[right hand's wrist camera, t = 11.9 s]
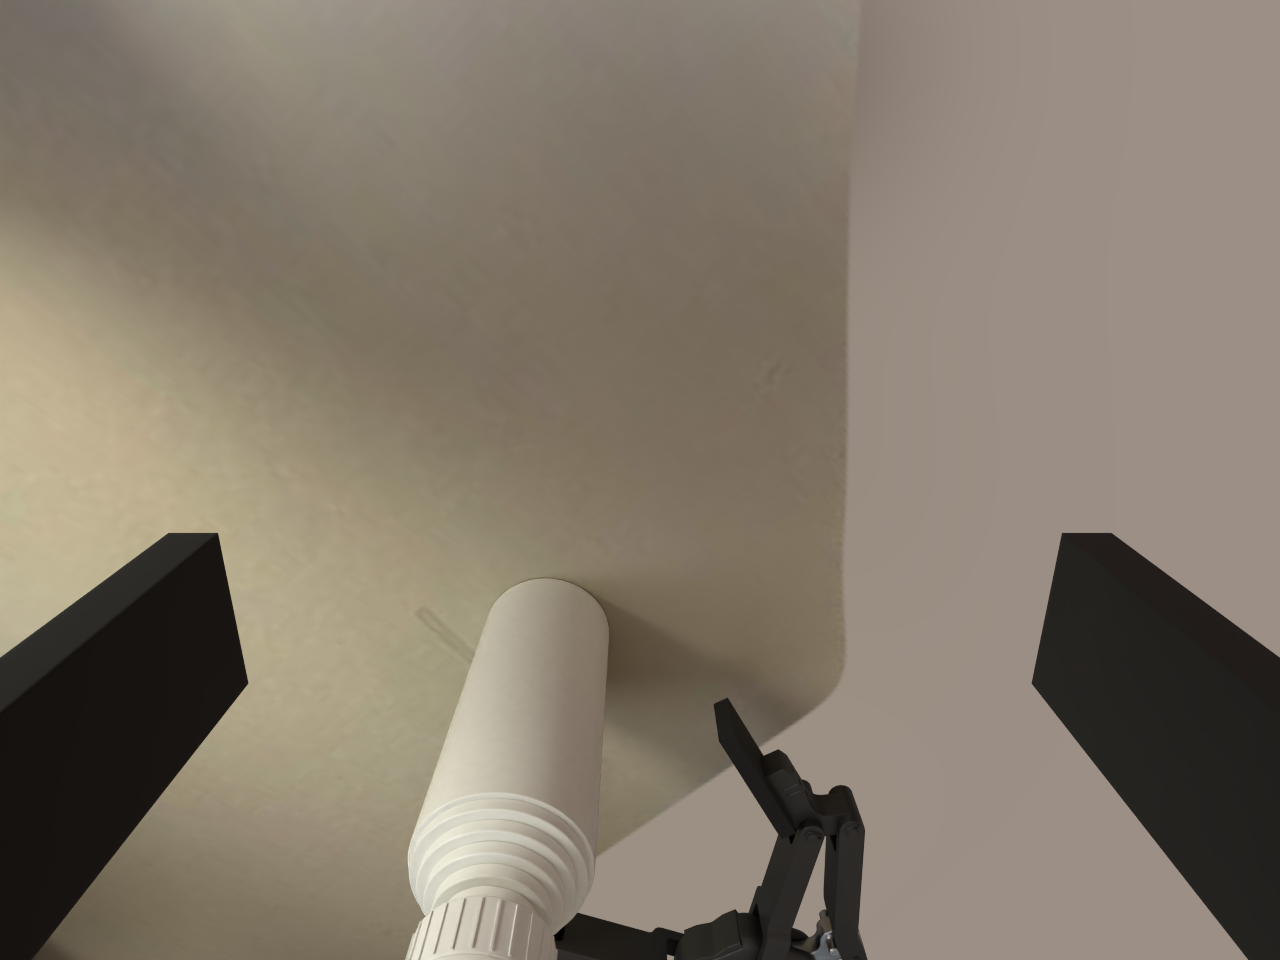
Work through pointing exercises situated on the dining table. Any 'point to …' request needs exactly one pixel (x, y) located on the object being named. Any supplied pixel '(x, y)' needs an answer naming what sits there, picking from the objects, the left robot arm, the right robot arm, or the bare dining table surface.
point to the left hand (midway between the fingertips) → (596, 775)
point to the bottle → (521, 760)
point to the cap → (482, 932)
